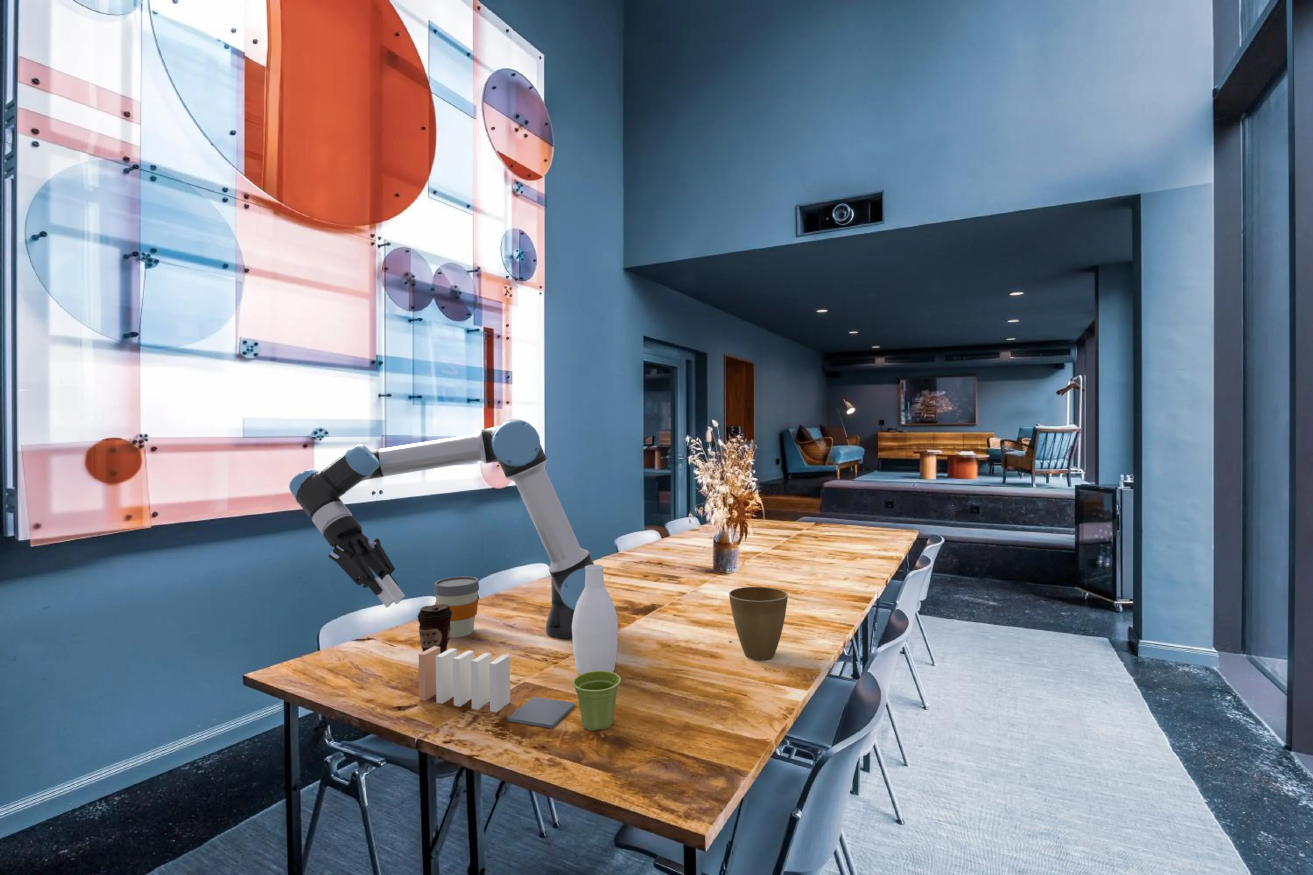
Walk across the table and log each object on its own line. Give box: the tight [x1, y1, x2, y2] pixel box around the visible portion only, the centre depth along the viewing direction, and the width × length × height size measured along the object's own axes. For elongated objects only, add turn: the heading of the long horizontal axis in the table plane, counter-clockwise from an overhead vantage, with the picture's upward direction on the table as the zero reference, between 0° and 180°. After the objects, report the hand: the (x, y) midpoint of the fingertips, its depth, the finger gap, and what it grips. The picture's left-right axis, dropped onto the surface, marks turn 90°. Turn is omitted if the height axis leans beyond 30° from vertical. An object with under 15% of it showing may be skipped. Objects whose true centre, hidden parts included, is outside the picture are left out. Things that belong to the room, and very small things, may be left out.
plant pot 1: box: [572, 671, 622, 732], centre depth 116 cm, size 9×9×9 cm
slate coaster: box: [507, 696, 576, 729], centre depth 121 cm, size 10×10×1 cm
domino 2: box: [435, 648, 458, 705], centre depth 128 cm, size 2×5×10 cm, turn 161°
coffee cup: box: [417, 604, 452, 654], centre depth 153 cm, size 9×8×13 cm
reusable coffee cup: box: [433, 575, 480, 639], centre depth 172 cm, size 13×13×15 cm
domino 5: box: [489, 654, 511, 713], centre depth 124 cm, size 2×5×10 cm, turn 161°
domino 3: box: [453, 650, 475, 707], centre depth 127 cm, size 2×5×10 cm, turn 161°
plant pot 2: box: [728, 586, 789, 661], centre depth 151 cm, size 15×15×16 cm
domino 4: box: [471, 652, 493, 710], centre depth 125 cm, size 2×5×10 cm, turn 161°
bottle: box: [571, 564, 619, 676], centre depth 142 cm, size 11×11×25 cm
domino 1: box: [418, 646, 440, 702], centre depth 130 cm, size 2×5×10 cm, turn 161°
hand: (395, 601), depth 133 cm, fingers open, 2 cm apart
